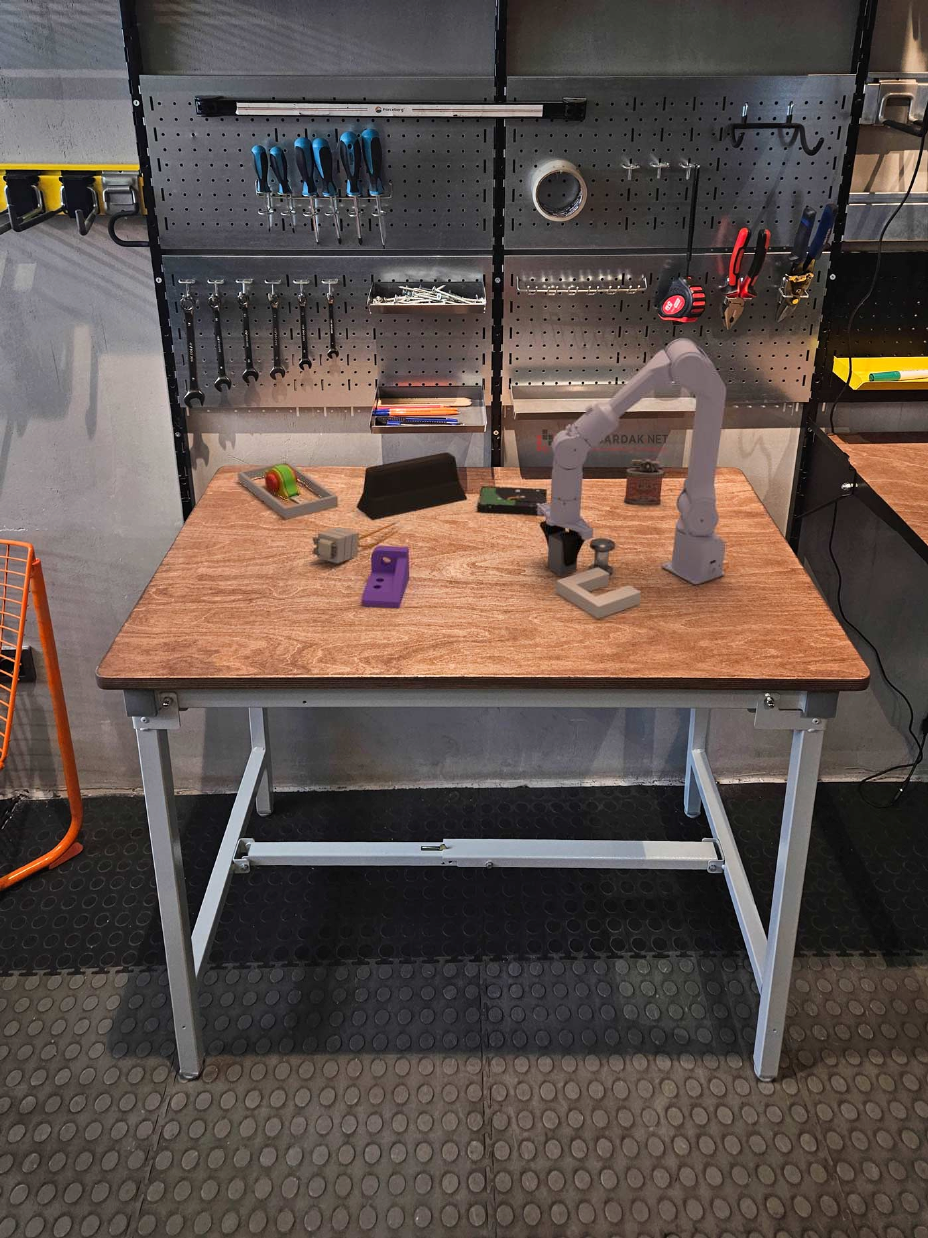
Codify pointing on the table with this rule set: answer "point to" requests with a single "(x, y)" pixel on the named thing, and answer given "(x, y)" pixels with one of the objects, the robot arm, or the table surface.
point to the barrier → (410, 486)
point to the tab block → (558, 555)
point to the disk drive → (510, 500)
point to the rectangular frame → (324, 503)
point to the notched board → (597, 606)
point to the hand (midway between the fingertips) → (562, 560)
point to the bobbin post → (602, 554)
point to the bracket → (387, 577)
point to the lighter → (644, 483)
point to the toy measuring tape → (283, 482)
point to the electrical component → (341, 543)
